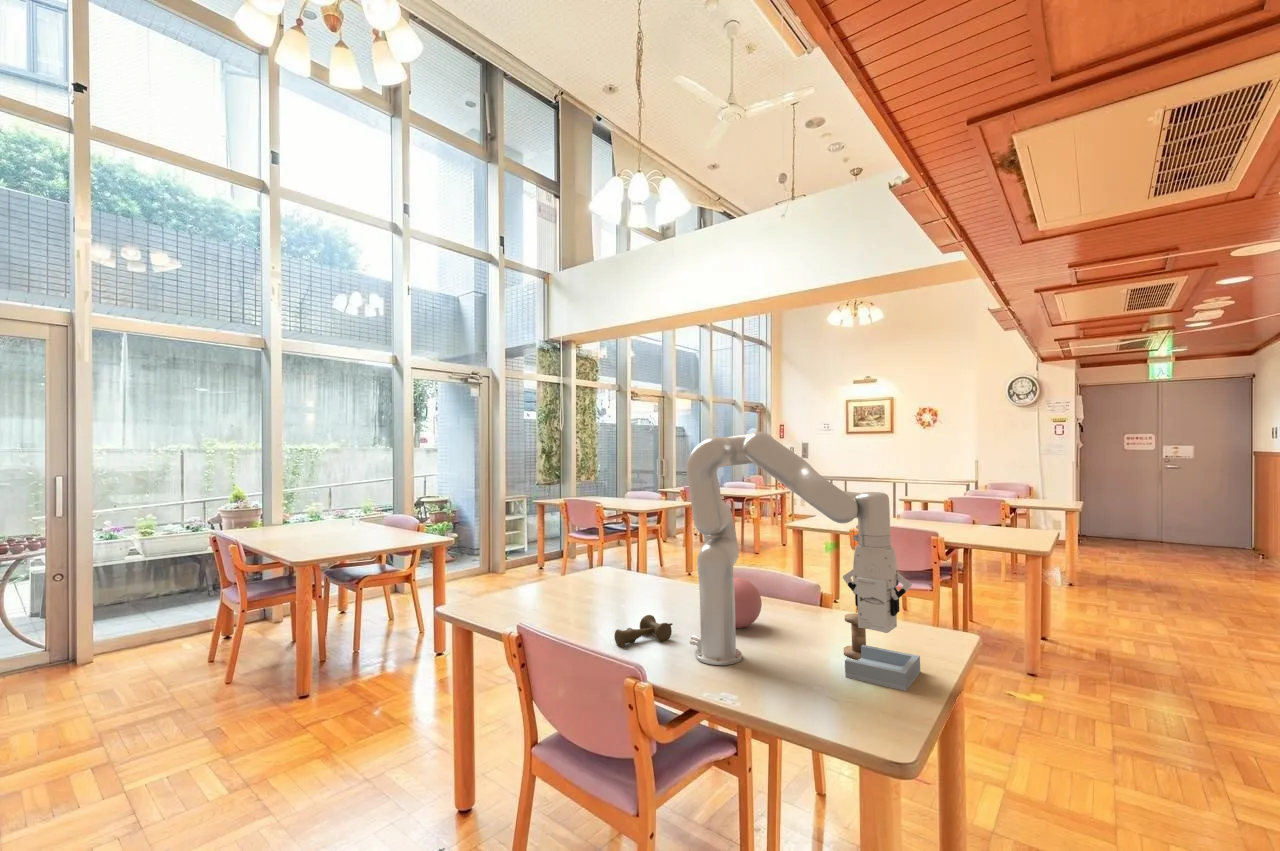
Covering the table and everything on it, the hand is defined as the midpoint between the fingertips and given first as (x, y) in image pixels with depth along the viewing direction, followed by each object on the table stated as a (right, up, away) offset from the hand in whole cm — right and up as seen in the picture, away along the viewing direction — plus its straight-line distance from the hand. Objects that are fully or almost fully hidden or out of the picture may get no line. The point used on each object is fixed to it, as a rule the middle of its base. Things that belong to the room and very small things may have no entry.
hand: (877, 611), depth 143 cm
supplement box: (0, -4, 0) cm, 4 cm away
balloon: (-30, -18, +40) cm, 53 cm away
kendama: (-58, -18, +27) cm, 66 cm away
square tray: (+1, -15, -1) cm, 15 cm away
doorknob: (0, -16, +12) cm, 20 cm away
